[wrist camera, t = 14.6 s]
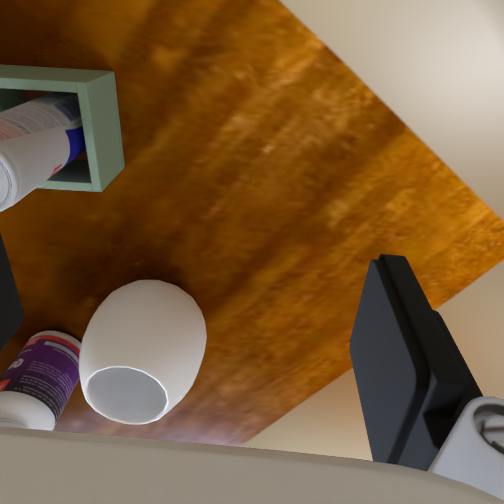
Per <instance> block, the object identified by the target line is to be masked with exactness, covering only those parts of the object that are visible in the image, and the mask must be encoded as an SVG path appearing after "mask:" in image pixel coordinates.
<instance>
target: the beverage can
mask: <svg viewBox="0 0 504 504" xmlns="http://www.w3.org/2000/svg"><path fill="white" fill-rule="evenodd" d="M85 150H86V143H85V137H84V131H83V124H82V118H81V112H80V105H79V99H78V96H76V95H74V94H72V93H69V92H58V91H57V92H52V93H50V94H47V95H45V96H42V97H40V98H37V99H34V100H32V101H29V102H26V103H24V104H21V105H19V106H16V107H13V108H11V109H8V110H6V111H3V112H0V212H1V211H3V210H5V209H7V208H8V207H10V206H13V205H14V204H15V203H17V202H18V201H19V200H21V199H22V198H23V197H25V196H26V195H27V194H29V193H30V192H31V191H32V190H34V189H35V188H36V187H38V186H39V185H40V184H42V183H43V182H44V181H46V180H47V179H48V178H50V177H51V176H52V175H54V174H55V173H56V172H57V171H59V170H60V169H61V168H63V167H64V166H65V165H67V164H68V163H69V162H71V161H72V160H73V159H75V158H76V157H77V156H78V155H80V154H81V153H82V152H84V151H85Z"/></svg>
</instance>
